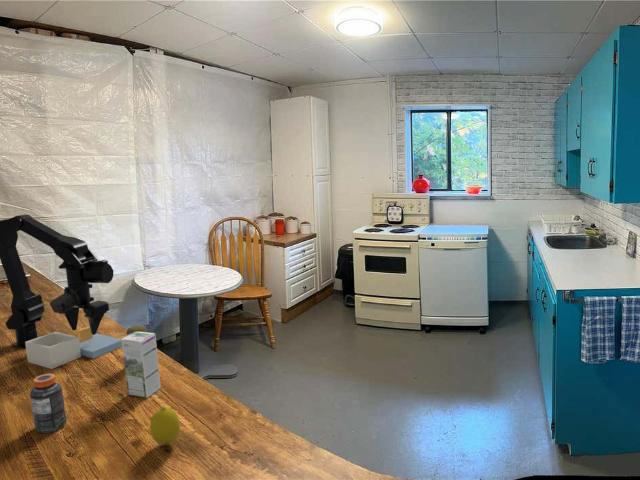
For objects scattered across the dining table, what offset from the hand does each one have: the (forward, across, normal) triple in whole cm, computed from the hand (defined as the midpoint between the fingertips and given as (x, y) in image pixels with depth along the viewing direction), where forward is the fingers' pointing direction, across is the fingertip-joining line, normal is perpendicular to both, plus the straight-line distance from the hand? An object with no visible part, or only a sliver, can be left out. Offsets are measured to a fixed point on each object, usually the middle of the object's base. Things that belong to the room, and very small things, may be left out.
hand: (84, 332), depth 151 cm
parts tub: (+4, +1, -10) cm, 11 cm away
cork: (+5, +27, -2) cm, 27 cm away
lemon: (+5, +63, -28) cm, 69 cm away
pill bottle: (+5, +35, -34) cm, 48 cm away
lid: (+4, +5, 0) cm, 6 cm away
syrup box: (+5, +41, -14) cm, 43 cm away
